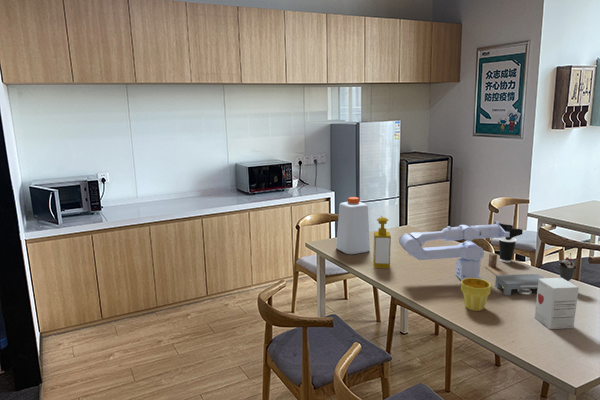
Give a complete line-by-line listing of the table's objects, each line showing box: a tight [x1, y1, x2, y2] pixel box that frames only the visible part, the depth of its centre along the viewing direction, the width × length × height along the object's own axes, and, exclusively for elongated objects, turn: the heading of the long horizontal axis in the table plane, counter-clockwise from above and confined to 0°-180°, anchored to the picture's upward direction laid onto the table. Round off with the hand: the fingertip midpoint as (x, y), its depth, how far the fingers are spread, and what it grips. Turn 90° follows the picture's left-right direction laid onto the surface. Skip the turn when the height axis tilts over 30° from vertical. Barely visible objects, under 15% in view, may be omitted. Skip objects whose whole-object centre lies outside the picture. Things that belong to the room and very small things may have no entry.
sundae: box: [557, 252, 578, 282], centre depth 184 cm, size 7×7×15 cm
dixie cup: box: [498, 237, 518, 263], centre depth 218 cm, size 8×8×11 cm
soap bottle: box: [372, 215, 392, 269], centre depth 215 cm, size 7×13×24 cm, turn 174°
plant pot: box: [460, 278, 492, 312], centre depth 168 cm, size 10×10×10 cm
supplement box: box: [534, 277, 580, 330], centre depth 155 cm, size 9×9×15 cm
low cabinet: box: [494, 273, 545, 296], centre depth 183 cm, size 18×10×5 cm, turn 93°
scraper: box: [483, 252, 511, 277], centre depth 200 cm, size 6×22×7 cm, turn 3°
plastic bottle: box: [335, 196, 371, 255], centre depth 235 cm, size 15×15×28 cm
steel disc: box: [517, 289, 532, 296], centre depth 182 cm, size 5×5×1 cm
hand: (517, 229), depth 195 cm, fingers open, 7 cm apart
